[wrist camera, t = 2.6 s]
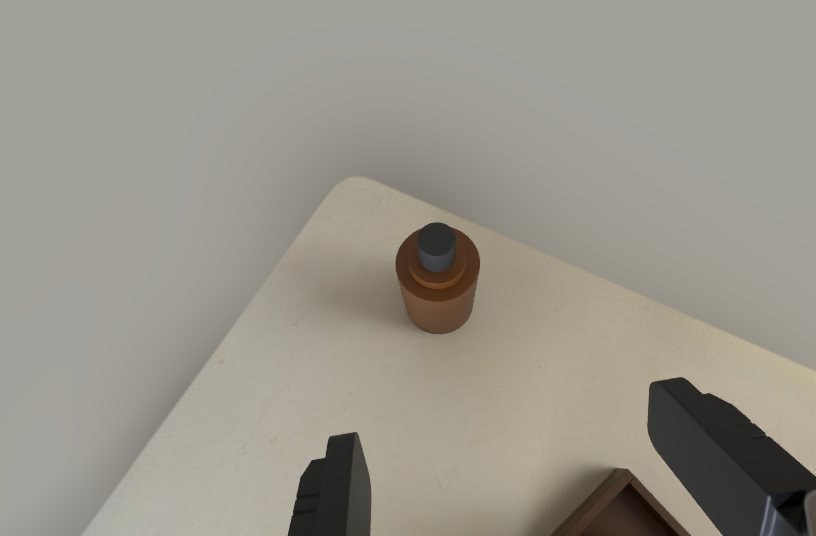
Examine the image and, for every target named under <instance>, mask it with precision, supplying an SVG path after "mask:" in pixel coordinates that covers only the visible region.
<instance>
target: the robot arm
mask: <svg viewBox="0 0 816 536" xmlns="http://www.w3.org/2000/svg"><path fill="white" fill-rule="evenodd" d="M647 428H648V434H649V437H650V440H651V442H652V444H653V446H654V448H655V450H656V451H657V452H658V454H659V455H660V456H661V457H662V459H663V460H664V461H665V463H666V464H667V465H668V466H669V468H670V469H671V470H672V471H673V473H674V474H675V475H676V477H677V478H678V479H679V480H680V482H681V483H682V484H683V486H684V487H685V488H686V489H687V491H688V492H689V493H690V494H691V496H692V497H693V498H694V500H695V501H696V502H697V503H698V505H699V506H700V507H701V508H702V510H703V511H704V512H705V514H706V515H707V516H708V517H709V519H710V520H711V521H712V522H713V524H714V525H715V526H716V528H717V529H718V530H719V531H720V533H721V534H722V535H723V536H816V477H815V476H814V475H813V474H812V473H811V472H810V471H809V470H807V469H806V468H805V467H804V466H803V465H802V464H800V463H799V462H798V461H797V460H796V459H795V458H794V457H792V456H791V455H790V454H789V453H788V452H787V451H785V450H784V449H783V448H782V447H781V446H780V445H778V444H777V443H776V442H775V441H774V440H773V439H772V438H770V437H767V436H766V434H765V432H763V431H762V430H761V429H760V428H759V427H758V426H757V425H755V424H754V423H753V424H752V423H751V420H750V419H748V418H747V417H746V416H745V415H744V414H743V413H741V412H740V411H739V410H738V409H737V408H736V407H735V406H733V405H732V404H730V403H728V402H726V401H724V400H722V399H720V398H718V397H716V396H714V395H712V394H710V393H708V394H702V393H701V392H700V391H699V390H698V389H697V388H696V387H694V386H693V385H692V384H691V383H690V382H689V381H688V380H686V379H685V378H682V377H679V378H673V379H667V380H661V381H655V382H652V383H651V384H650V387H649V404H648V423H647ZM296 497H297V500H296V501H295V505H294V510H293V516H292V519H291V523H290V528H289V532H288V536H370V525H371V484H370V477H369V472H368V468H367V465H366V461H365V457H364V453H363V450H362V446H361V442H360V439H359V435H358V433H357V432H353V433H347V434H341V435H335V436H330V437H329V439H328V445H327V451H326V457H325V458H322V459H316V460H312V461H311V462H310V464H309V465H308V467H307V469H306V470H305V472H304V473H303V475H302V476H301V478H300V483H299V487H298V492H297V496H296Z"/></svg>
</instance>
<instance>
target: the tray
mask: <svg viewBox="0 0 816 536" xmlns="http://www.w3.org/2000/svg"><path fill="white" fill-rule="evenodd" d="M551 536H691V535H690V534H689V533H688V532H687V531H686V530H685V529H684V528H683V527H682V526H681V525H680V524H679V523H678V521H677V520H676V519H675V518H674V517H673V516H672V515H671V514H670V513H669V512H668V511H667V510H666V509H665V508H664V507H663V506H662V505H661V503H660V502H659V501H658V500H657V499H656V498H655V497H654V496H653V495H652V494H651V493H650V492H649V491H648V490H647V489H646V488H645V487H644V485H643V484H642V483H641V482H640V481H639V480H638V479H637V478H636V477H635V476H634V475H633V474H632V473H631V472H630V471H629V470H628V469H622V468H616V469H615V470H614V471H613V472H612V473H611V474H610V475H609V476H608V477H607V478H606V479H605V480H604V481H603V482H602V483H601V485H600V486H599V487H598V488H597V489H596V490H595V491H594V492H593V493H592V494H591V495H590V496H589V497H588V498H587V499H586V500H585V501H584V502H583V503H582V504H581V505H580V506H579V507H578V508H577V509H576V510H575V511H574V512H573V513H572V514H571V515H570V516H569V517H568V518H567V519H566V520H565V521H564V522H563V523H562V524H561V525H560V526H559V527H558V528H557V530H556V531H555V532H554V533H553V534H552V535H551Z"/></svg>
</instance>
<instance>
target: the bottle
mask: <svg viewBox="0 0 816 536" xmlns="http://www.w3.org/2000/svg"><path fill="white" fill-rule="evenodd" d="M479 270H480V258H479V254H478V251H477V248H476V247H475V245H474V243H473V242H472V241H471V240H470V238H469V237H468V236H466V235H465V234H464V233H462V232H461V231H459V230H457V229H455V228H451V227H449V226H448V225H446V224H443V223H438V222H436V223H430V224H428V225H426V226H424V227H423V228H422V229H419V230H417V231H416V232H414V233H412V234H411V235H410V236H409V237H408V238H406V239H405V241H404V242H403V243H402V245H401V246H400V248H399V250H398V253H397V256H396V272H397V276H398V280H399V283H400V287H401V290H402V294H403V298H404V301H405V305H406V309H407V312H408V315H409V317H410V318H411V320H412V321H413V322H414V324H416V325H417V326H418V327H419V328H421V329H422V330H424V331H426V332H429V333H433V334H445V333H449V332H452V331H455V330H456V329H458V328H460V327H461V326H462V325H463V324H464V323H465V322H466V321H467V319H468V318H469V316H470V314H471V311H472V306H473V301H474V296H475V291H476V285H477V280H478V275H479Z"/></svg>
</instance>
